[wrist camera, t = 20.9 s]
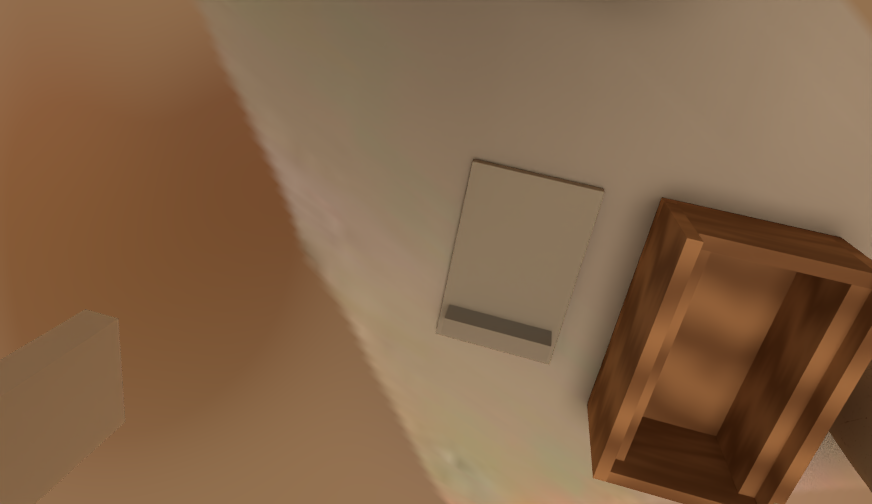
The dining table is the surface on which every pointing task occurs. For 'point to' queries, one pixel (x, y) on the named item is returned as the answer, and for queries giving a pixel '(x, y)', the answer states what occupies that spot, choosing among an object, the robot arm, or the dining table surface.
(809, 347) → the walnut box
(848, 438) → the thermos bottle
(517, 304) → the slate lid
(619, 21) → the dining table surface
